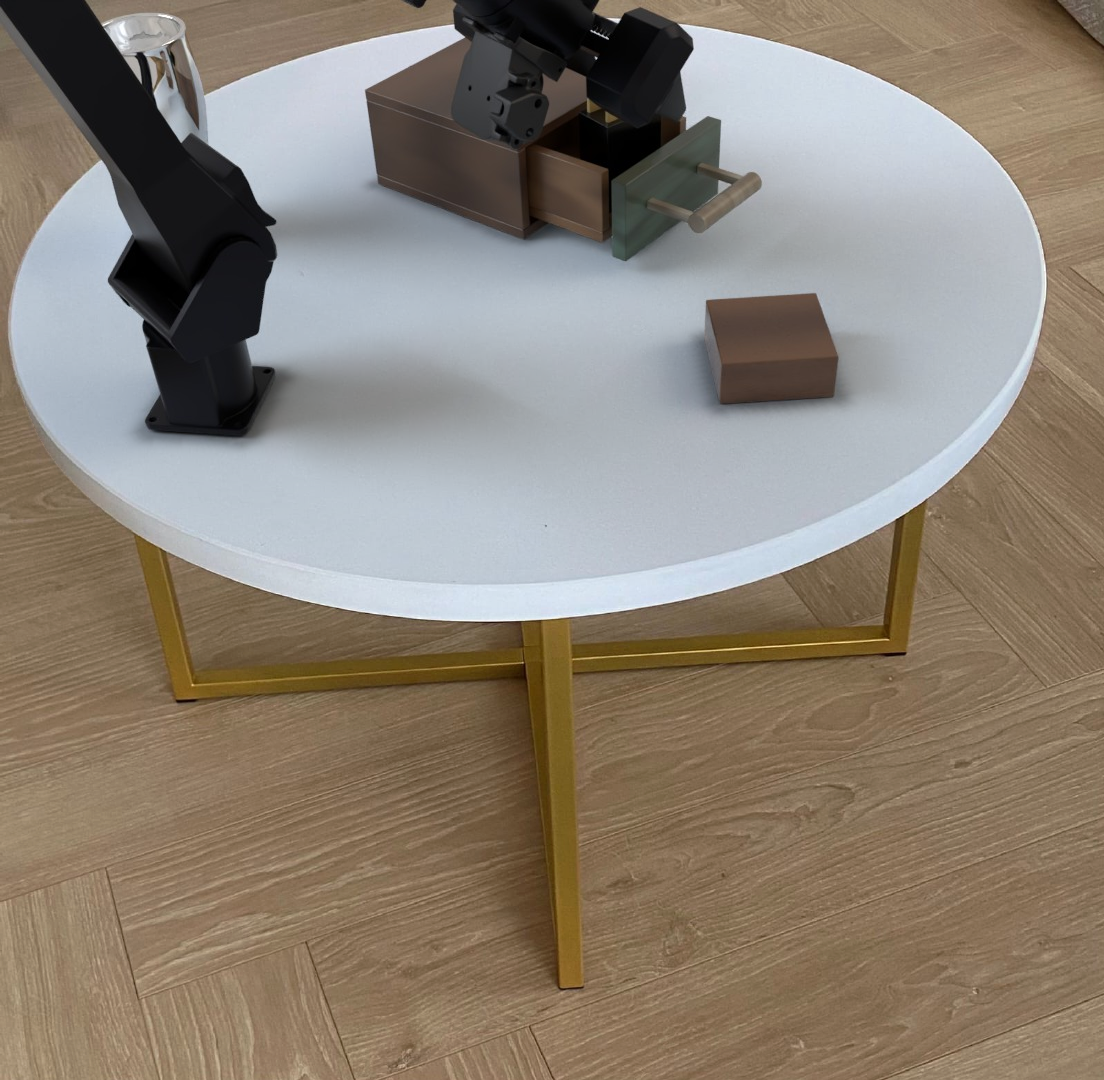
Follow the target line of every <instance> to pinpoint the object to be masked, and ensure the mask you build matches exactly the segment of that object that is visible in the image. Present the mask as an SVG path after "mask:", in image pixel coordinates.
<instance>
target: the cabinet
mask: <svg viewBox="0 0 1104 1080" xmlns="http://www.w3.org/2000/svg"><path fill="white" fill-rule="evenodd" d="M471 43H472V42H471V41H469V40H468V39H467V38H466V37H463V38H461V39H459V40H457V41H456V42H453V43H452V44H449V45H448V46H446V47H444V48H442V49H440V50H438V51H436V52H434V53H432V54H430V55H428V56H426V57H425V58H423V59H420V60H419V61H417V62H416V63H413V64H410V65H409V66H407V67H406V68H404V69H402V70H400V71H398V72H396V73H394V74H392V75H391V76H388V77H386V78H384V79H382V80H381V81H379V82H376V83H374V84H373V85H371V86H370V87H368V88H365V89H364V93H365V100H366V107H367V115H368V121H369V129H370V136H371V144H372V150H373V158H374V165H375V172H376V178H377V184H378V185H381V186H383V187H386V188H388V189H390V190H394V191H396V192H399V193H402V194H404V195H406V196H409V197H411V198H414V199H417V200H420V201H422V202H425V203H427V204H430V205H432V206H435V207H437V208H441V209H443V210H446V211H448V212H451V213H453V214H456V215H457V216H461V217H463V218H467V219H468V220H472V221H475V222H476V223H479V224H481V225H485V226H488V227H490V228H492V229H494V230H498V231H500V232H503V233H505V234H508V235H511V236H513V237H515V238H519V239H521V240H525V239H527V238H528V237H530V236H532V235H533V234H534V233H536V232H537V231H539V230H540V229H542V228H543V227H544V226H546V225H547V224H549V223H548V222H546V221H543V220H540V219H538V218H535V217H532V216H529V205H528V188H527V171H526V154H525V147H527V146H529V145H530V144H532V143H534V142H535V141H537V140H539V139H540V138H542V137H543V136H545V135H547V134H548V133H550V132H552V131H553V130H555V129H556V128H558V127H560V126H561V125H563V124H565V123H566V122H568V121H569V120H571V119H573V118H574V117H576V116H578V115H579V111H582V110H585V109H587V97H586V77H585V76H583V75H581V74H579V73H576V72H574V71H572V70H570V69H568V68H565V70H564V71H563V73H562V75H561V76H560V78H559V80H558V81H557V82H556V81H554V80H552V79H550V78H548V77H547V76H546V75H544V74H542V75H543V81H544V83H543V90H542V94H544V95H546V96H547V97H548V100H549V108H548V111H547V115H546V118H545V121H544V125H543V128H542V131H541V134H540V136H539V137H538V138H537V139H536V140H534V141H528V142H527V143H525V144H522V146H521V147H520V148H519V149H513V148H512V147H510V146H508V145H506V144H504V143H503V142H500V141H493V140H486V139H482V138H480V137H479V136H477V135H475V134H474V133H472V132H470V131H469V130H467V129H465V128H463V127H462V126H460V125H458V124H457V123H455V121H454V120H453V118H452V115H451V105H452V101H453V97H454V93H455V89H456V86H457V82H458V78H459V74H460V71H461V67H462V63H463V59H464V57H465V54H466V53H467V51H468V50H469V49H470V46H471Z"/></svg>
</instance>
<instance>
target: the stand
mask: <svg viewBox="0 0 1104 1080" xmlns="http://www.w3.org/2000/svg"><path fill="white" fill-rule="evenodd" d="M817 294H818V293H816V292H811V293H810V292H807V293H794V294H793V293H792V294H791V293H790V294H778V295H777V294H776V295H761V296H747V297H731V298H730V297H729V298H715V299H713V298H712V299H706V300H705V312H704V313H705V314H704V315H705V316H704V334H703V335H704V337H703V339H704V343H705V347H706V351H707V356H708V360H709V365H710V370H711V373H712V377H713V381H714V386H715V390H716V394H717V395H716V396H717V398H718V399H717V400H718V403H719V404H720V405H726V404H738V403H739V404H740V403H742V404H743V403H754V402H757V403H758V402H770V401H771V402H772V401H787V400H800V399H801V400H802V399H803V400H804V399H816V398H817V399H819V398H832V397H833V398H834V396H835V390H836V382H837V374H838V366H839V354H838V351H837V348H836V345H835V342H834V339H833V337H832V334H831V331H830V329H829V325H828V323H827V320H826V317H825V314H824V311H823V309H822V306H821V303H820V300H819V297H818V295H817Z"/></svg>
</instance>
